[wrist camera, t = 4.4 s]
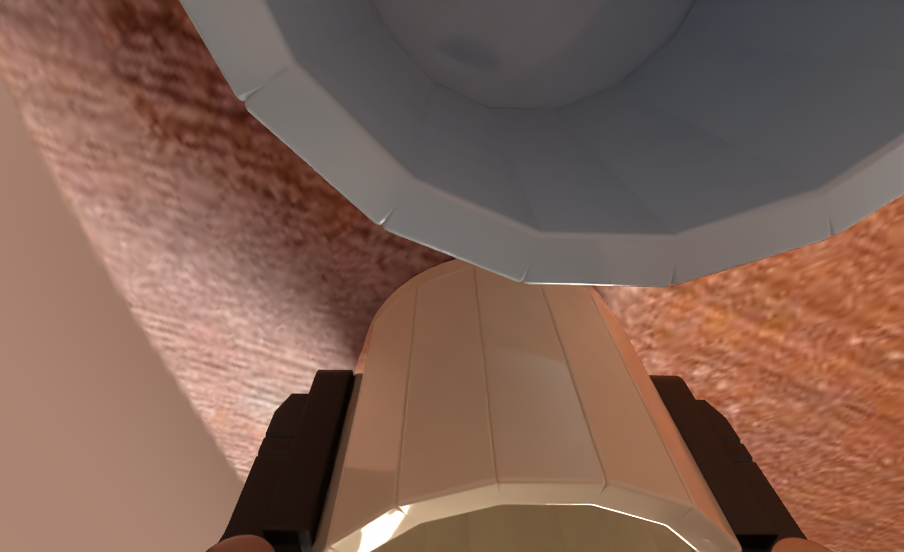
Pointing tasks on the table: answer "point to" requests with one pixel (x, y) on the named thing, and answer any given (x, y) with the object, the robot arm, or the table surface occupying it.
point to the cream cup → (509, 430)
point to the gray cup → (583, 123)
